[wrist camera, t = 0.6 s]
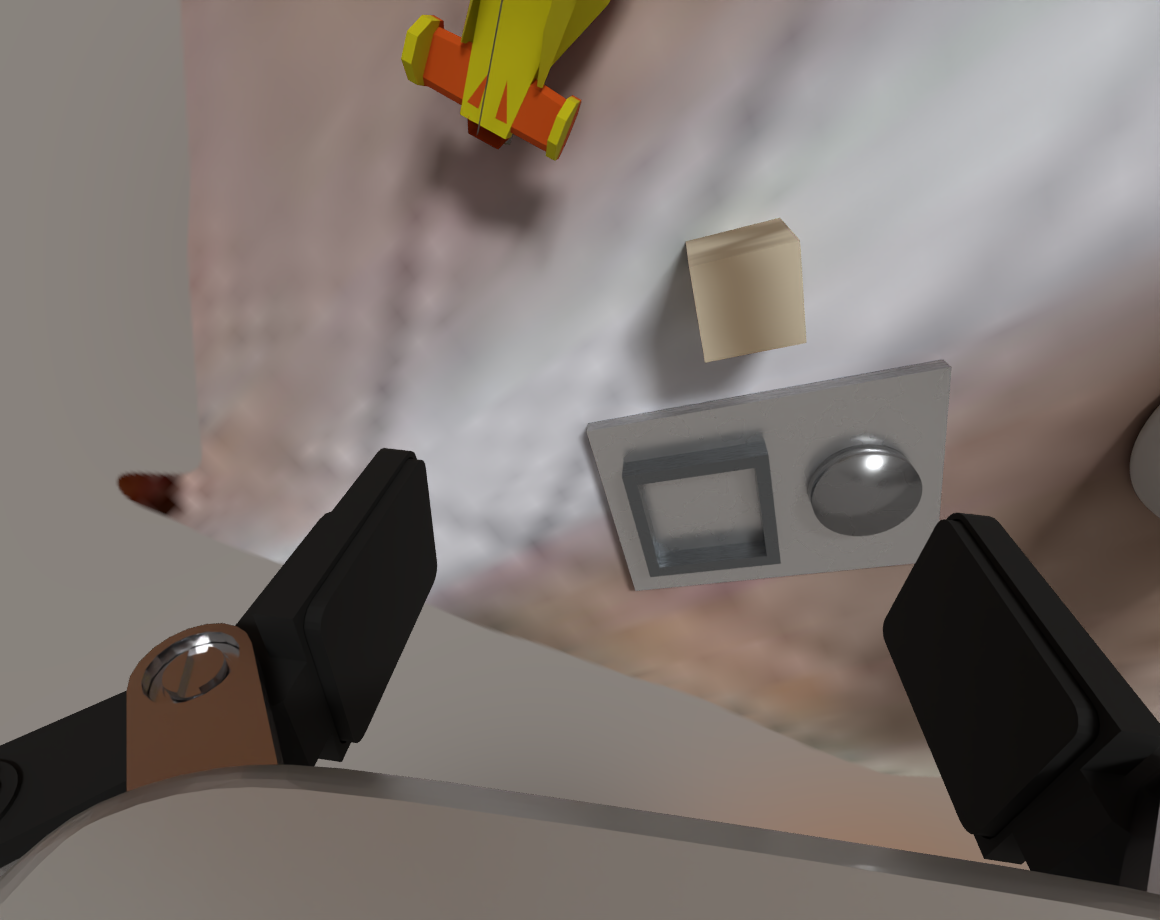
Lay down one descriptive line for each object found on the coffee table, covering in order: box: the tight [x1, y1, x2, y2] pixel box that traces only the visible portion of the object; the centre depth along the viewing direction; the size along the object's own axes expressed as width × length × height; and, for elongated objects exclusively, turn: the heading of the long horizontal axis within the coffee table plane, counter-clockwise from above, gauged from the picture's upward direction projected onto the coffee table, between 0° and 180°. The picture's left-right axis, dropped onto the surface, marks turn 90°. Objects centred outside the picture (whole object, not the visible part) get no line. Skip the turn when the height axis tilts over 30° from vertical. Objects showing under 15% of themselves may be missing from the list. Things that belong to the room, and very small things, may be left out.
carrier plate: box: [586, 360, 951, 591], centre depth 35 cm, size 20×14×2 cm
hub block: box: [686, 218, 806, 363], centre depth 27 cm, size 5×5×5 cm
